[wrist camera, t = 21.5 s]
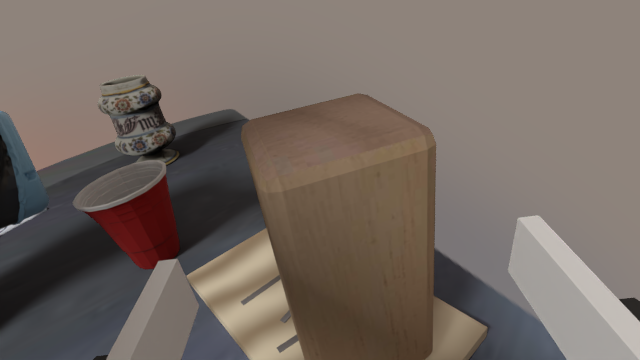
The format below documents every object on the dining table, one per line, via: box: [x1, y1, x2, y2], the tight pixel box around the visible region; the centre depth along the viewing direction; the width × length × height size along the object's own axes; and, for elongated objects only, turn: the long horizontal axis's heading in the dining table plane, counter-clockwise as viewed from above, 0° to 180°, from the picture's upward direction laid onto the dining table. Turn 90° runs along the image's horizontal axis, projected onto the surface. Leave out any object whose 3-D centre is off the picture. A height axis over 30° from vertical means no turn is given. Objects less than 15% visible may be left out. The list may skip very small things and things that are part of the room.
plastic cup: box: [72, 160, 180, 269], centre depth 45 cm, size 11×11×12 cm
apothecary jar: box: [98, 75, 179, 165], centre depth 73 cm, size 12×12×18 cm
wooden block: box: [241, 94, 436, 360], centre depth 26 cm, size 10×10×20 cm
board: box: [187, 228, 488, 360], centre depth 36 cm, size 28×16×1 cm, turn 41°
